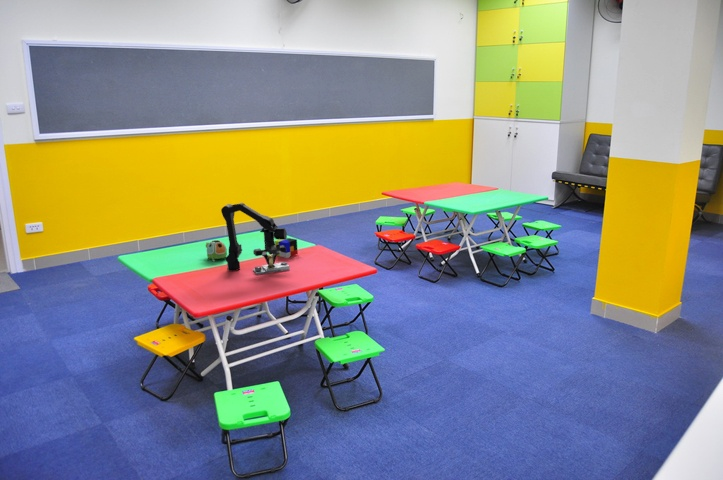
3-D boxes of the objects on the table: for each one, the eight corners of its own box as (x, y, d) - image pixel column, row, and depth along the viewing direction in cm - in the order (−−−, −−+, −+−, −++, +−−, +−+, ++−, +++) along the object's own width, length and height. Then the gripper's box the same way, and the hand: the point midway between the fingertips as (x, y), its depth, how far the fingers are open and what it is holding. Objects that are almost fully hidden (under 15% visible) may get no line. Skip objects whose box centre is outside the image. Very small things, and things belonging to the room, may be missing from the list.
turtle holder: (217, 253, 381) (215, 236, 378) (231, 258, 369) (229, 241, 365) (200, 257, 373) (198, 240, 370) (214, 263, 360) (212, 245, 357)
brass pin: (269, 269, 341) (268, 256, 339) (268, 268, 343) (267, 255, 341) (274, 268, 342) (273, 255, 340) (272, 267, 344) (272, 254, 342)
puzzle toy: (286, 258, 367) (286, 243, 364) (275, 255, 373) (274, 240, 370) (297, 254, 375) (296, 239, 372) (286, 252, 381) (285, 237, 378)
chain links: (256, 274, 335) (256, 269, 334) (253, 270, 343) (252, 265, 342) (289, 269, 343) (289, 264, 342) (285, 265, 351) (284, 261, 350)
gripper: (257, 244, 327) (259, 270, 331) (288, 240, 334) (289, 265, 338) (252, 240, 337) (254, 265, 341) (282, 236, 344) (284, 260, 348)
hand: (270, 264), depth 342 cm, fingers closed on brass pin, 3 cm apart
